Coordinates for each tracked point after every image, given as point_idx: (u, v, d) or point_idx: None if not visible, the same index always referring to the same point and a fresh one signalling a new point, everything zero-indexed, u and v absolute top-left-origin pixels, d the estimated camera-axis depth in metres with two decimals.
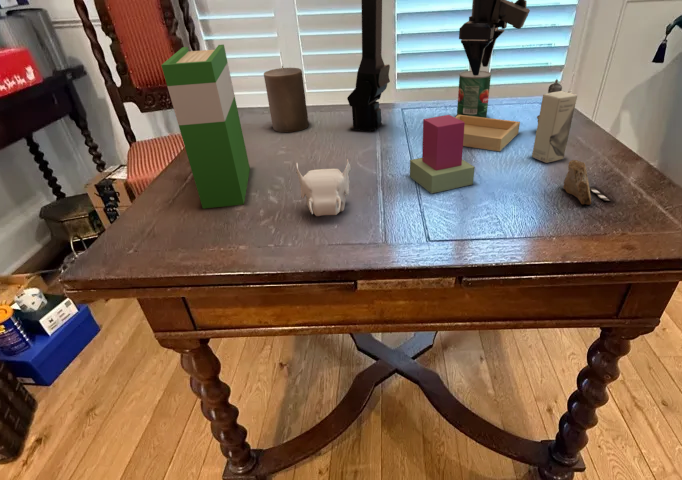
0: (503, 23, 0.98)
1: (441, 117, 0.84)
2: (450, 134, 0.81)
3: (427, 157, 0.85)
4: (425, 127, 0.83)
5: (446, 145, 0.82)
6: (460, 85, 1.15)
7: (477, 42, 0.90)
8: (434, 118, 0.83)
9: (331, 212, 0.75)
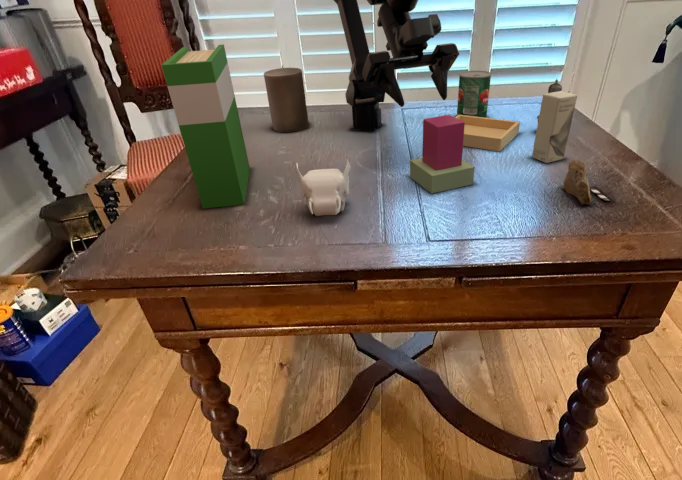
0: (441, 49, 0.87)
1: (441, 117, 0.84)
2: (450, 134, 0.81)
3: (427, 157, 0.85)
4: (425, 127, 0.83)
5: (446, 145, 0.82)
6: (460, 85, 1.15)
7: (376, 74, 0.85)
8: (434, 118, 0.83)
9: (331, 212, 0.75)
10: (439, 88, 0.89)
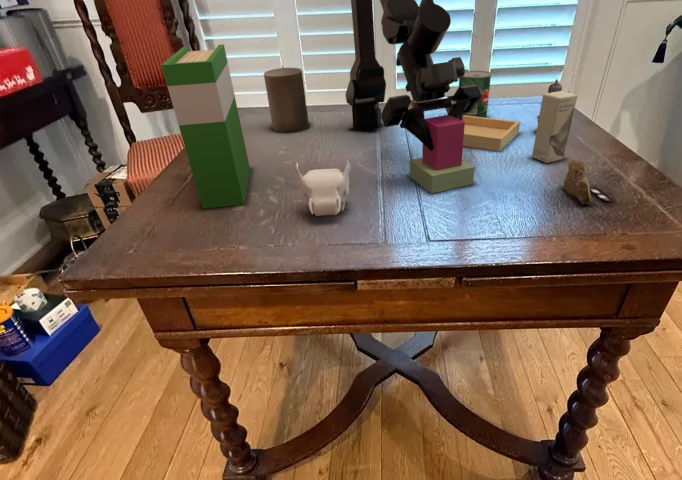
0: (463, 92, 0.83)
1: (441, 117, 0.84)
2: (450, 134, 0.81)
3: (427, 157, 0.85)
4: None
5: (446, 145, 0.82)
6: (460, 85, 1.15)
7: (404, 117, 0.82)
8: (434, 118, 0.83)
9: (331, 212, 0.75)
10: None
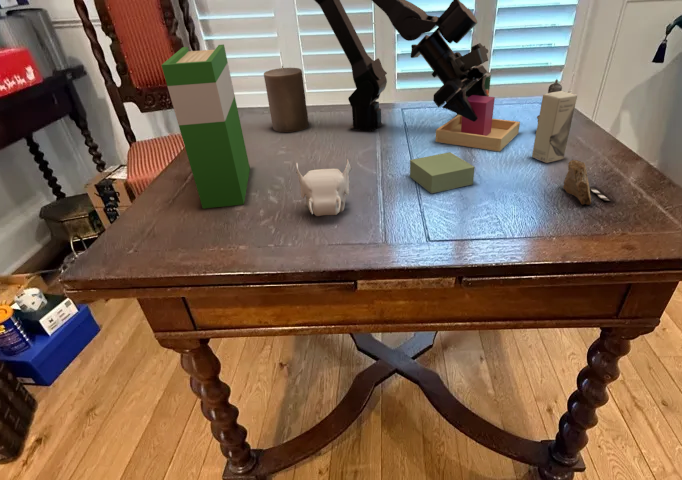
0: (478, 71, 1.05)
1: (472, 97, 1.04)
2: (489, 108, 1.03)
3: (469, 130, 1.05)
4: None
5: (487, 117, 1.03)
6: None
7: (453, 98, 0.98)
8: (469, 98, 1.03)
9: (331, 212, 0.75)
10: None
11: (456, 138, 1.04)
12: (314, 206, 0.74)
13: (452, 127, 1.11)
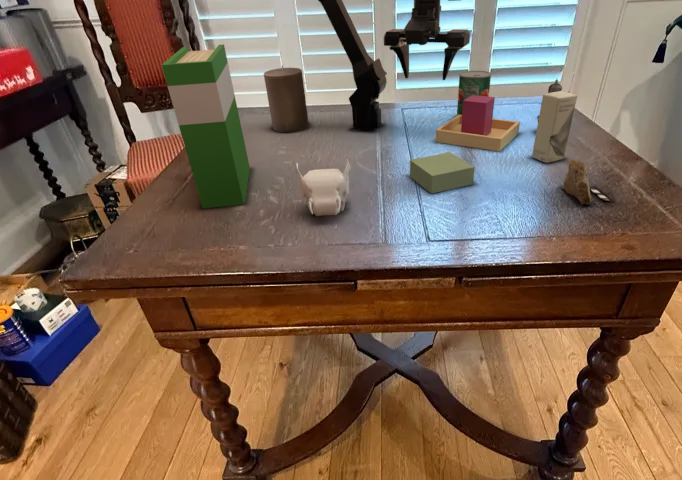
0: (446, 41, 0.98)
1: (472, 97, 1.04)
2: (489, 108, 1.03)
3: (469, 130, 1.05)
4: (466, 107, 1.03)
5: (487, 117, 1.03)
6: (460, 85, 1.15)
7: None
8: (469, 98, 1.03)
9: (331, 212, 0.75)
10: None
11: (456, 138, 1.04)
12: (314, 206, 0.74)
13: (452, 127, 1.11)
